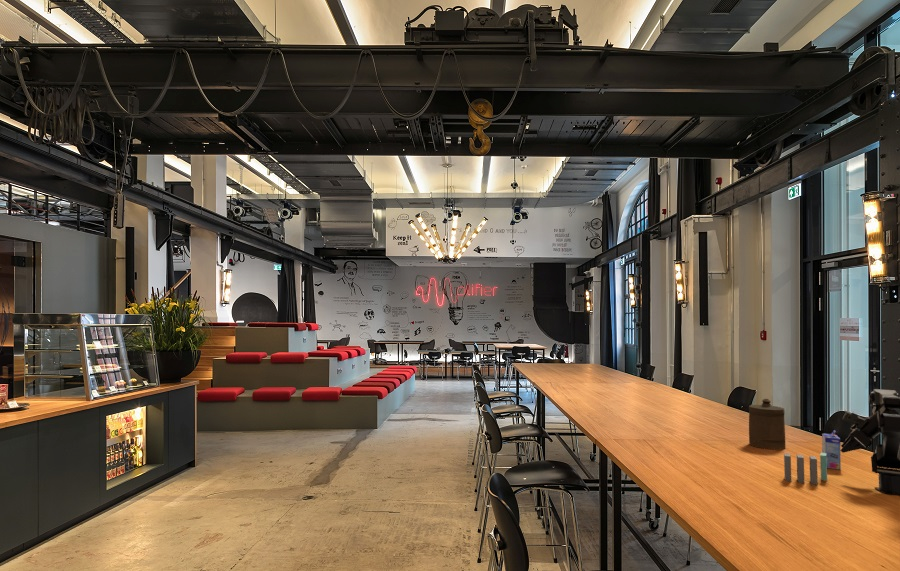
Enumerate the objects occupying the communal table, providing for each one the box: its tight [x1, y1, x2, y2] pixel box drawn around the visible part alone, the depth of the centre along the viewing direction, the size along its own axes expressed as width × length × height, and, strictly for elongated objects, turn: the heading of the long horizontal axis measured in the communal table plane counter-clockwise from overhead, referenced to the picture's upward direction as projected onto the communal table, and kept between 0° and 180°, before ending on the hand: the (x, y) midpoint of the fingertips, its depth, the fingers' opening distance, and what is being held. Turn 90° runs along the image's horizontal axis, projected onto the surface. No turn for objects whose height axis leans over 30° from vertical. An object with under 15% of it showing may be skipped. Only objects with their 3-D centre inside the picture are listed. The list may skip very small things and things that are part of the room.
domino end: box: [783, 452, 792, 482], centre depth 202 cm, size 2×5×9 cm, turn 152°
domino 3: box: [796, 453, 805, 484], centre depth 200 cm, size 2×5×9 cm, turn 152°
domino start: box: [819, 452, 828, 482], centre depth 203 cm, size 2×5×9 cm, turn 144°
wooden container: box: [748, 398, 787, 450], centre depth 258 cm, size 15×15×22 cm
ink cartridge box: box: [821, 429, 842, 471], centre depth 222 cm, size 10×6×14 cm, turn 152°
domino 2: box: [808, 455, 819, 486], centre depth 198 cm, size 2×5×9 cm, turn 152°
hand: (841, 449), depth 201 cm, fingers open, 9 cm apart
